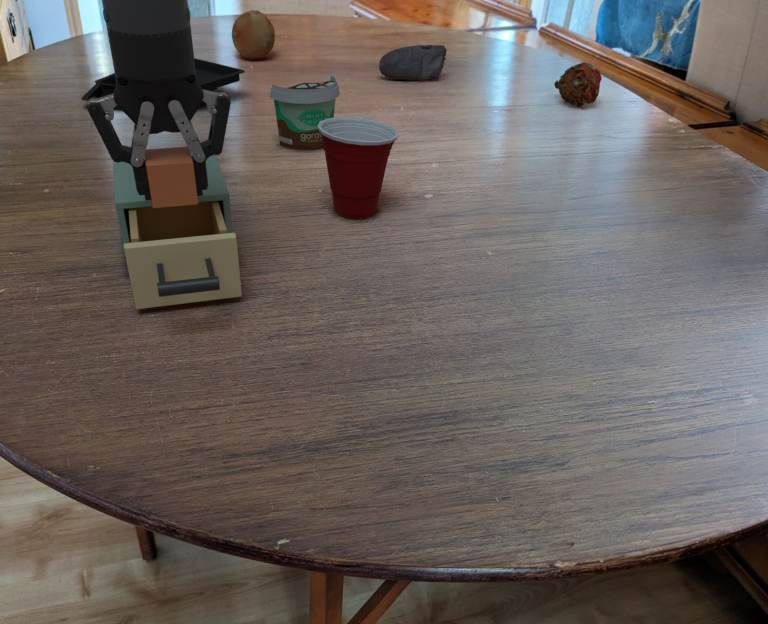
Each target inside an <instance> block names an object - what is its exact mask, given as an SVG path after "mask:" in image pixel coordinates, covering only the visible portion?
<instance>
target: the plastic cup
mask: <svg viewBox="0 0 768 624" xmlns="http://www.w3.org/2000/svg"><path fill="white" fill-rule="evenodd" d="M318 130H319V131H320V133H321V136H322V142H323V147H324V148H323V151H324V156H325V162H326V169H327V175H328V180H329V188H330V190H331V196H332V202H333V206H334V207H333V208H334V210H335V212H336V214H337V215H338V216H340V217H342V218H346V219H349V220H363V219H364V220H365V219H369V218H371V217H372V216H374V215H376V212H377V211H376V210H377V209H378V204H379V198H380V193H381V191H382V189H383V188H382V187H383V182H384V178H385V174H386V169H387V164H388V159H389V157H390V154H391V150H392V149H393V146H394V144H395V142H396V141H397V140H398V138H399V135H400V134H399V133H400V132H399V130H397V129H396V128H395V126H392V125H390V124H387V123H386V122H383V121H379V120H375V119H372V118H364V117H357V116H337V117H334V118H328V119H325V120H323V121H320V122H319V124H318Z"/></svg>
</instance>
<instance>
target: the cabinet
mask: <svg viewBox="0 0 768 624" xmlns="http://www.w3.org/2000/svg"><path fill="white" fill-rule="evenodd" d="M190 153H191V152H190ZM191 156H192V154H191ZM144 160H145V157H144ZM112 167H113V187H114V188H113V190H114V191H113V192H114V206H115V212H116V215H117V222H118V226H119V231H120V236H121V242H122V247H123V248H124V243H131V235H130V221H129V208H139V207H151V206H153V205H152V200H145V195H139V194H138V192H137V189H136V183H135V178H134V172H133V168H132V166H131V165H130V164H128V163H125V162H114V161H113V160H112ZM206 170H207V178H208V188H207V190H202V192H203V196H197V198H198V202H209V201H218V203H219V206H220V209H221V212H222V216H223V219H224V222H225V225H226V229H227V233H234V229H233V218H232V217H233V216H232V208H231V199H230V192H229V189H228V186H227V183H226V181H225V177H224V174H223V172H222V169H221V166H220V163H219V160H218V156H217V155H213V156H210V157H209V158H208V159H207V160H206ZM123 251H124V250H123ZM124 253H125V251H124ZM124 258H126V256H125V255H124ZM125 262H126V263H127V261H126V260H125ZM126 266H127V265H126ZM127 269H128V266H127ZM127 272H128V274H129V271H128V270H127Z"/></svg>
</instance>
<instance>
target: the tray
mask: <svg viewBox="0 0 768 624" xmlns="http://www.w3.org/2000/svg"><path fill="white" fill-rule="evenodd" d="M194 60H195V69H196V77H197V80H198V82H199V84H200V85H201V87H202V89H203V90H208V91H212V92H214V91H215V90H217V89H219V88H222V87H225V86H228V85H231V84H234V83H238V82H240V81H241V78H240V77H241V76H240V75H241V74H244V73H245V72H246V71H245V70H244V69H242V68H237V67H233V66H228V65H225V64H220V63H216V62H212V61H208V60H204V59H199V58H195V57H194ZM115 85H116V77H115V72H113V73H111V74H109V75H105V76H103V77H101V78H98V79H96V80H95V81H94V85H93V86H92V87H91V88H90V89H88V91H87V92H85V93H84V95H83V96H82V97H81V101H86V102H88V100H89V99H90V98H91V97H97V98H101V97H104V96H107V95H110V94H113V90H114V87H115ZM113 111H122V110H121V109H120V108H119V107H118V106H115V107H114V109H113Z"/></svg>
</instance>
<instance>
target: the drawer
mask: <svg viewBox="0 0 768 624" xmlns="http://www.w3.org/2000/svg"><path fill="white" fill-rule="evenodd" d="M129 221H130V235H131V243H124V247H123V251H125V252H124V257H125V256H126V257H125V262H126V261H127V262H126V266H128V268H127V272H128V271H129V273H128V275H129V276H128V277H129V280H130V286H131V291H132V295H133V296H132V297H133V301H134V307H135V310H142V309H149V308H158V307H166V306H174V305H184V304H192V303H199V302H209V301H217V300H224V299H232V298H233V299H234V298H240V297H242V296H243V293H242V282H241V281H242V280H241V272H240V270H241V269H240V261H239V260H240V259H239V251H238V248H239V247H238V238H237V234H236V232H233V233H227V229H226V225H225V222H224V219H223V216H222V212H221V209H220V206H219V203H218V201H209V202H198V204H196V205H185V206H174V207H163V208H153V206H151V207H139V208H129Z"/></svg>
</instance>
